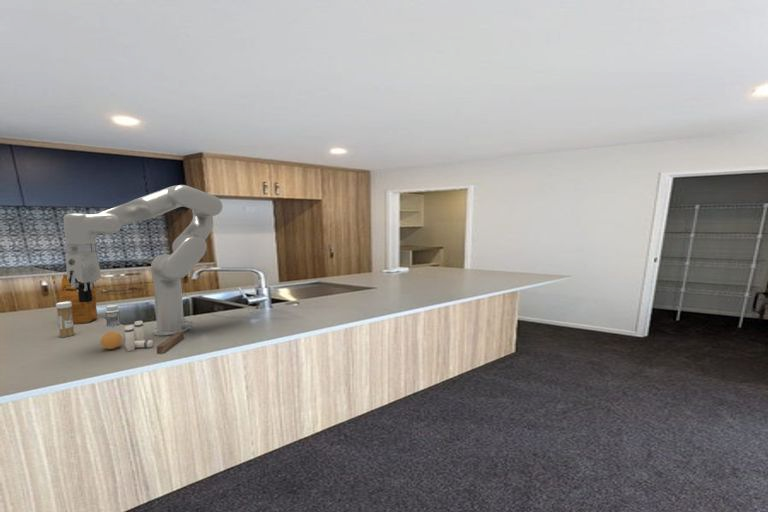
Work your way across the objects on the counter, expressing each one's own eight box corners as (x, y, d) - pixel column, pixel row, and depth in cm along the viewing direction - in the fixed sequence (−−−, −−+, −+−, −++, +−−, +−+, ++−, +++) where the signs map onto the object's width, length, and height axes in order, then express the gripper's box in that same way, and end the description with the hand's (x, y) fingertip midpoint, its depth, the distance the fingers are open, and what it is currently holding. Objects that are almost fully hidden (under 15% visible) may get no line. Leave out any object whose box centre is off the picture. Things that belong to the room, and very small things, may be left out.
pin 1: (136, 348, 127) (135, 325, 126) (132, 351, 125) (130, 327, 124) (129, 348, 127) (127, 325, 126) (124, 351, 124) (122, 327, 123)
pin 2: (146, 342, 133) (144, 320, 132) (142, 345, 130) (140, 322, 130) (138, 343, 133) (136, 320, 132) (134, 345, 130) (132, 322, 129)
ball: (110, 328, 129) (108, 344, 130) (97, 333, 124) (95, 350, 124) (126, 331, 130) (125, 347, 130) (115, 335, 124) (113, 352, 124)
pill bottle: (111, 323, 159) (109, 304, 159) (122, 322, 160) (121, 304, 159) (104, 326, 155) (102, 307, 154) (115, 326, 155) (114, 307, 154)
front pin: (130, 345, 130) (154, 344, 130) (125, 349, 127) (150, 348, 127) (128, 339, 129) (152, 338, 129) (123, 343, 126) (148, 342, 126)
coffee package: (72, 319, 167) (68, 272, 165) (101, 318, 168) (97, 271, 166) (56, 325, 157) (51, 275, 155) (87, 324, 158) (82, 274, 156)
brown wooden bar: (183, 338, 138) (183, 331, 138) (163, 353, 122) (162, 346, 122) (178, 338, 138) (177, 331, 138) (157, 353, 122) (156, 346, 122)
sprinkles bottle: (73, 336, 142) (70, 302, 140) (58, 338, 139) (54, 304, 138) (75, 333, 146) (72, 300, 144) (60, 335, 143) (57, 302, 142)
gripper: (77, 251, 116) (82, 306, 118) (106, 247, 131) (111, 296, 133) (51, 251, 116) (57, 307, 117) (84, 248, 130) (89, 297, 132)
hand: (85, 301), depth 125 cm, fingers closed
